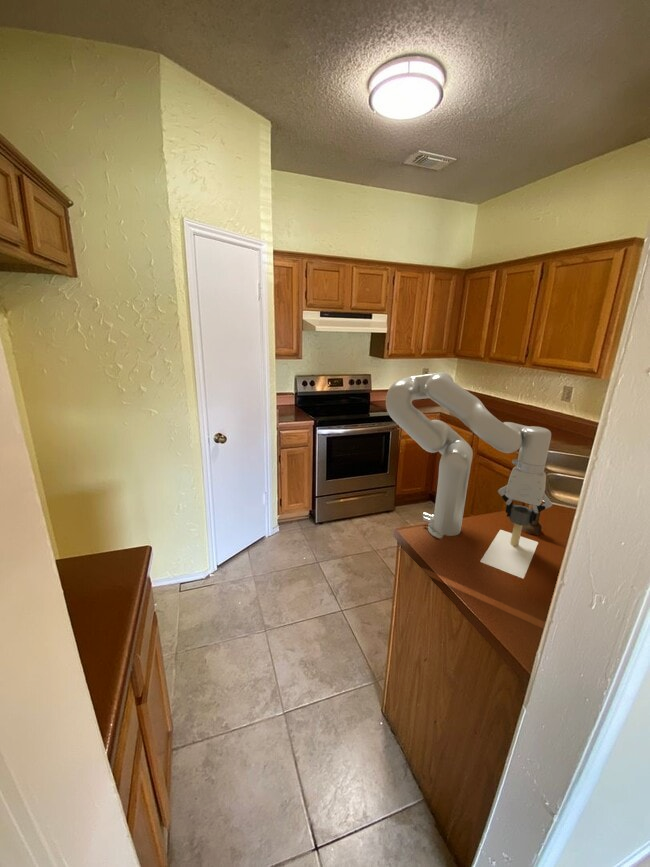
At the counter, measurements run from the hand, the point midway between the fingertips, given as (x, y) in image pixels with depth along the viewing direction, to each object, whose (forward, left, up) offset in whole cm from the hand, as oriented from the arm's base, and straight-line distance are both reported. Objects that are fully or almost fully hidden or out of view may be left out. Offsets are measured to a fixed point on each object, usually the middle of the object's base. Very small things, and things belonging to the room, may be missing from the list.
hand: (520, 518), depth 117 cm
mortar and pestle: (+2, +17, -12) cm, 21 cm away
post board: (0, -5, -11) cm, 12 cm away
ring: (0, 0, -1) cm, 1 cm away
